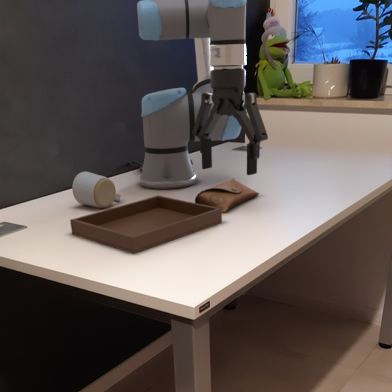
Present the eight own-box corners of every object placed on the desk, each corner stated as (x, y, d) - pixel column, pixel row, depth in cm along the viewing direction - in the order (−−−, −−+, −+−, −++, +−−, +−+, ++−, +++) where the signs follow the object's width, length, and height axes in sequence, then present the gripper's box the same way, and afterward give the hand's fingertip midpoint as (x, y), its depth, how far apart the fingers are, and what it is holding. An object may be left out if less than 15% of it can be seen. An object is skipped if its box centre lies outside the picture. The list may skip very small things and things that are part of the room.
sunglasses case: (227, 211, 120) (213, 183, 119) (204, 223, 124) (190, 197, 123) (261, 193, 133) (249, 168, 132) (239, 205, 138) (227, 181, 136)
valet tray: (72, 234, 111) (69, 219, 110) (158, 208, 126) (158, 195, 125) (134, 253, 99) (132, 237, 98) (221, 222, 114) (221, 208, 113)
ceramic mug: (97, 211, 125) (93, 177, 121) (73, 207, 130) (69, 174, 126) (129, 202, 132) (126, 170, 129) (106, 198, 137) (102, 167, 133)
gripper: (174, 69, 120) (179, 168, 130) (264, 67, 105) (261, 179, 115) (197, 68, 125) (200, 163, 135) (286, 66, 109) (282, 173, 120)
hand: (228, 171), depth 125 cm, fingers open, 13 cm apart
